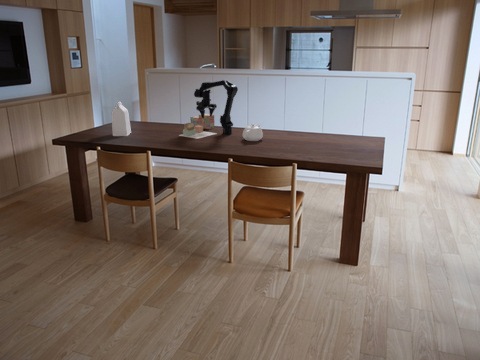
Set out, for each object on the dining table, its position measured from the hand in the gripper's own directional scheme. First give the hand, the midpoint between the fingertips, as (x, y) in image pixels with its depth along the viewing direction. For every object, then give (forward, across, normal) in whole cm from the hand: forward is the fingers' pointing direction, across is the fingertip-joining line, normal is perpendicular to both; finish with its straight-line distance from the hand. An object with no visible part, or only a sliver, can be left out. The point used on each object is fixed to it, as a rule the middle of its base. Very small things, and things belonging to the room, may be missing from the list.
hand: (206, 117), depth 339 cm
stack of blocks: (+12, -10, -14) cm, 21 cm away
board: (+12, +14, +3) cm, 19 cm away
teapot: (+12, 0, +47) cm, 49 cm away
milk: (+12, +49, -48) cm, 70 cm away
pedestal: (+11, +19, -2) cm, 22 cm away
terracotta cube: (+11, +7, -3) cm, 14 cm away
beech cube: (+7, +19, -2) cm, 20 cm away
